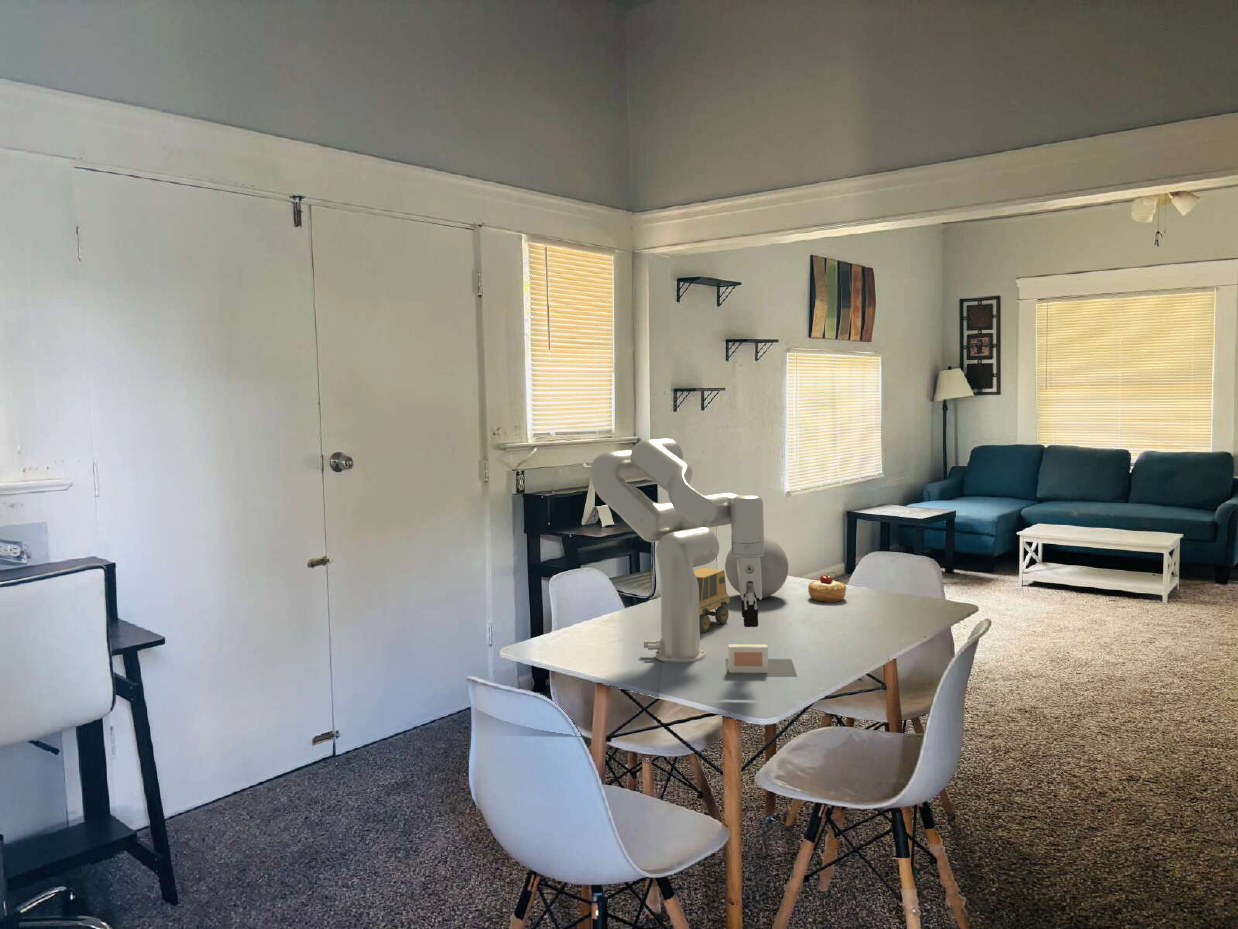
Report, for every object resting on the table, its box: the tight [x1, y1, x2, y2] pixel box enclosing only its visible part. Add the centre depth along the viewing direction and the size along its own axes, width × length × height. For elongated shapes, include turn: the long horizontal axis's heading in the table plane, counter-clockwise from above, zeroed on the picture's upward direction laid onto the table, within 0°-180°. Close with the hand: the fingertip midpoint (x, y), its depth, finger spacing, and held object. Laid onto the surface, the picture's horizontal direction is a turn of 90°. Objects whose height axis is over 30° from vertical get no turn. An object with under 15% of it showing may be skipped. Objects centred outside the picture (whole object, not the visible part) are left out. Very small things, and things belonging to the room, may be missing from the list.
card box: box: [727, 643, 769, 673], centre depth 217 cm, size 9×3×6 cm, turn 85°
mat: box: [725, 658, 798, 678], centre depth 220 cm, size 16×14×1 cm
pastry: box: [807, 571, 847, 603], centre depth 293 cm, size 12×12×9 cm
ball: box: [724, 535, 789, 599], centre depth 297 cm, size 20×20×20 cm
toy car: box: [693, 567, 731, 633], centre depth 263 cm, size 10×19×15 cm, turn 146°
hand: (749, 621), depth 216 cm, fingers open, 9 cm apart
